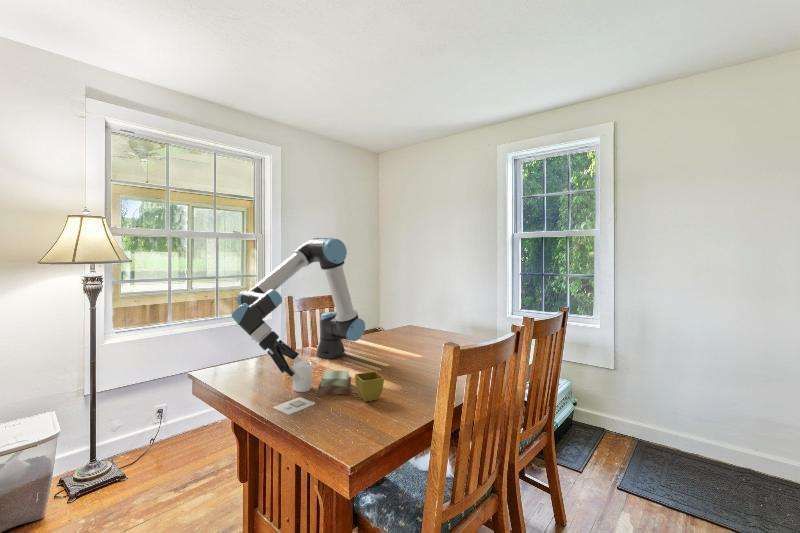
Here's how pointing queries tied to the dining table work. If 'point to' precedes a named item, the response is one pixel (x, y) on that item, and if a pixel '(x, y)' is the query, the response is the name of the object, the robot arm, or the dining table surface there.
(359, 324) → the robot arm
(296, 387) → the white cup
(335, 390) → the tower base
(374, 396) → the flower pot
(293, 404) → the page
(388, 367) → the dining table surface
